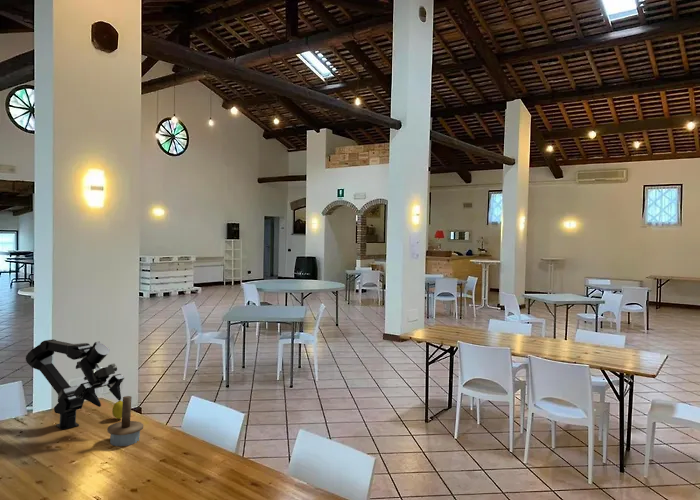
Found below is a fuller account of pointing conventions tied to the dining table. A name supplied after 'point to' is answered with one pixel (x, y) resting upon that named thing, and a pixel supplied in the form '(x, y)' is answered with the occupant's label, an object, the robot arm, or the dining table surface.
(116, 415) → the lemon
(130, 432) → the brown peg on base
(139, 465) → the dining table surface
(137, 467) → the dining table surface
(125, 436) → the bowl
